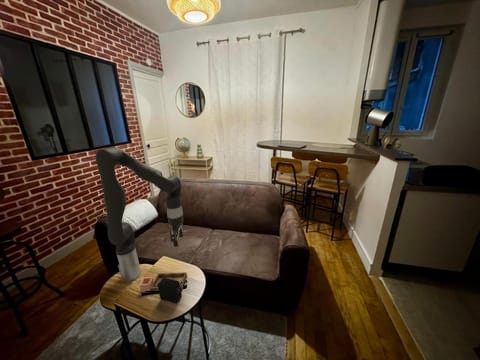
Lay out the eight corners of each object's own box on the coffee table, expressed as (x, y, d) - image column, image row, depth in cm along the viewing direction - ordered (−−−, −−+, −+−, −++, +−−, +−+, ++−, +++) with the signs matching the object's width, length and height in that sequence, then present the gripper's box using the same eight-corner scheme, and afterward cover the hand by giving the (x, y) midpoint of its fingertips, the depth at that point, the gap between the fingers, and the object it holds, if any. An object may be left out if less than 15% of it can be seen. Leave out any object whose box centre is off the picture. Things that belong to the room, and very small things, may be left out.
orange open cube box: (141, 292, 102) (139, 284, 100) (145, 284, 107) (143, 277, 105) (150, 292, 102) (148, 284, 100) (154, 284, 107) (152, 277, 105)
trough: (151, 292, 102) (150, 288, 101) (159, 276, 112) (158, 273, 111) (181, 291, 101) (181, 287, 101) (187, 276, 111) (186, 272, 111)
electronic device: (177, 304, 94) (174, 287, 91) (160, 299, 97) (156, 283, 94) (182, 296, 98) (179, 281, 95) (165, 292, 101) (162, 277, 98)
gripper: (172, 208, 106) (175, 234, 111) (162, 221, 93) (166, 249, 97) (186, 208, 106) (188, 233, 111) (178, 220, 93) (181, 249, 97)
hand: (178, 241), depth 104 cm, fingers open, 8 cm apart
